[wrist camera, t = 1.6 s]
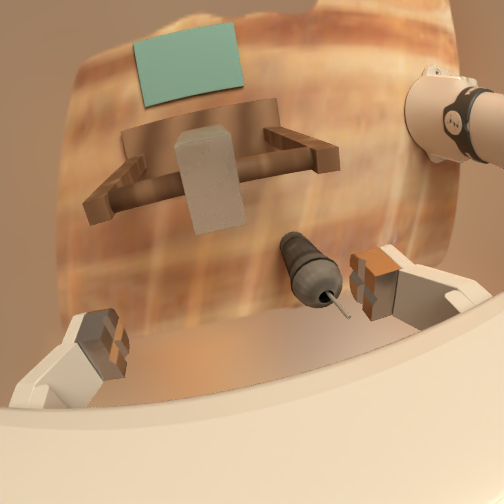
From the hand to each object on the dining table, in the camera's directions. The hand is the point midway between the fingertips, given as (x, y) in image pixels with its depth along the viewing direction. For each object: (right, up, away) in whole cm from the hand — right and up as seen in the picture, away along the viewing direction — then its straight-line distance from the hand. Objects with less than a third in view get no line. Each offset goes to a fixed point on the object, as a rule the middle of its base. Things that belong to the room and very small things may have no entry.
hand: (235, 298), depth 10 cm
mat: (-8, +28, +26) cm, 39 cm away
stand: (-6, +17, +32) cm, 37 cm away
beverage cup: (+7, +3, +42) cm, 43 cm away
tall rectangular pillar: (-4, +11, +21) cm, 25 cm away
